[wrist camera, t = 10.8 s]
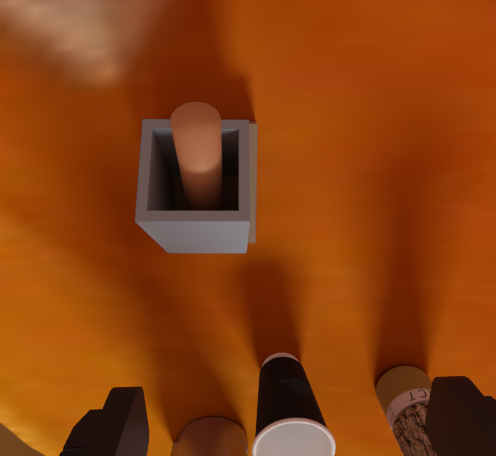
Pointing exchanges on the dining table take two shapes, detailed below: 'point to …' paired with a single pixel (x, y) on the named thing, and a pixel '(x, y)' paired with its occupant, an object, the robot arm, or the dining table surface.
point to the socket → (174, 201)
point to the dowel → (199, 154)
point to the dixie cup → (289, 412)
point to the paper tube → (407, 407)
